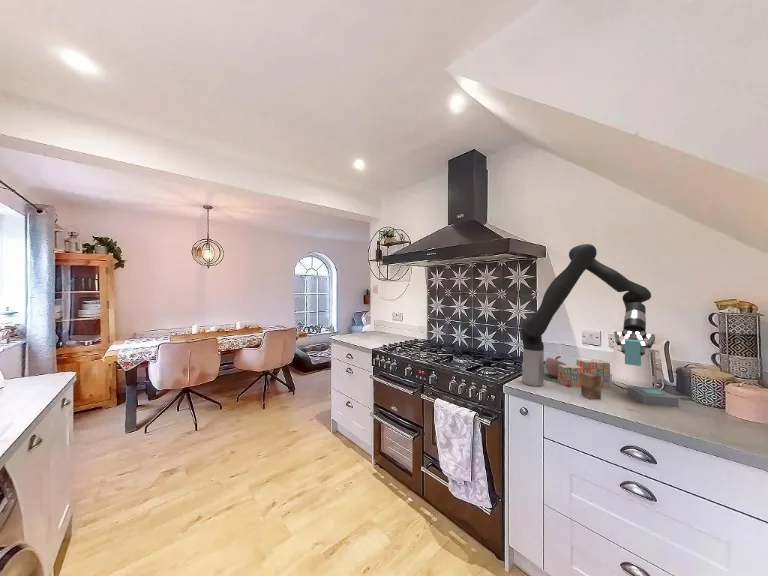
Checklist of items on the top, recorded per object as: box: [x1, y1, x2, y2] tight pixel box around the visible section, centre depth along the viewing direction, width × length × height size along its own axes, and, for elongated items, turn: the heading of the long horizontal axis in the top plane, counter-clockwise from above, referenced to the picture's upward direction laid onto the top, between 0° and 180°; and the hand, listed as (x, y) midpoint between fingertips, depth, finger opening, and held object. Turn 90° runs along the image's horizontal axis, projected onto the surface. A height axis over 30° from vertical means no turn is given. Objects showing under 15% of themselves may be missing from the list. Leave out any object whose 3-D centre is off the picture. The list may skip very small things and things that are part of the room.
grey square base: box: [626, 385, 679, 408], centre depth 127 cm, size 12×12×4 cm
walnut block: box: [580, 373, 602, 400], centre depth 130 cm, size 5×5×10 cm
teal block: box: [624, 339, 642, 367], centre depth 125 cm, size 5×5×10 cm
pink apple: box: [544, 355, 568, 378], centre depth 161 cm, size 12×12×12 cm
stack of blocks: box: [557, 358, 611, 389], centre depth 147 cm, size 21×6×12 cm, turn 85°
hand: (632, 353), depth 124 cm, fingers closed on teal block, 5 cm apart
